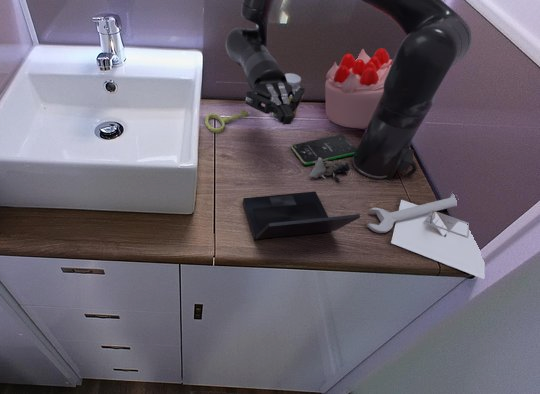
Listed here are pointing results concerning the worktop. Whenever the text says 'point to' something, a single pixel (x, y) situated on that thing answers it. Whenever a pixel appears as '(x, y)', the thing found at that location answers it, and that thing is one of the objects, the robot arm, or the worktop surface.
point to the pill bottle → (294, 82)
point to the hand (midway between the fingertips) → (288, 120)
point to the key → (223, 120)
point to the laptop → (282, 210)
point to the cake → (356, 88)
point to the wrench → (408, 213)
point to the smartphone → (323, 149)
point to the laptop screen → (305, 226)
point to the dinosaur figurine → (329, 168)
